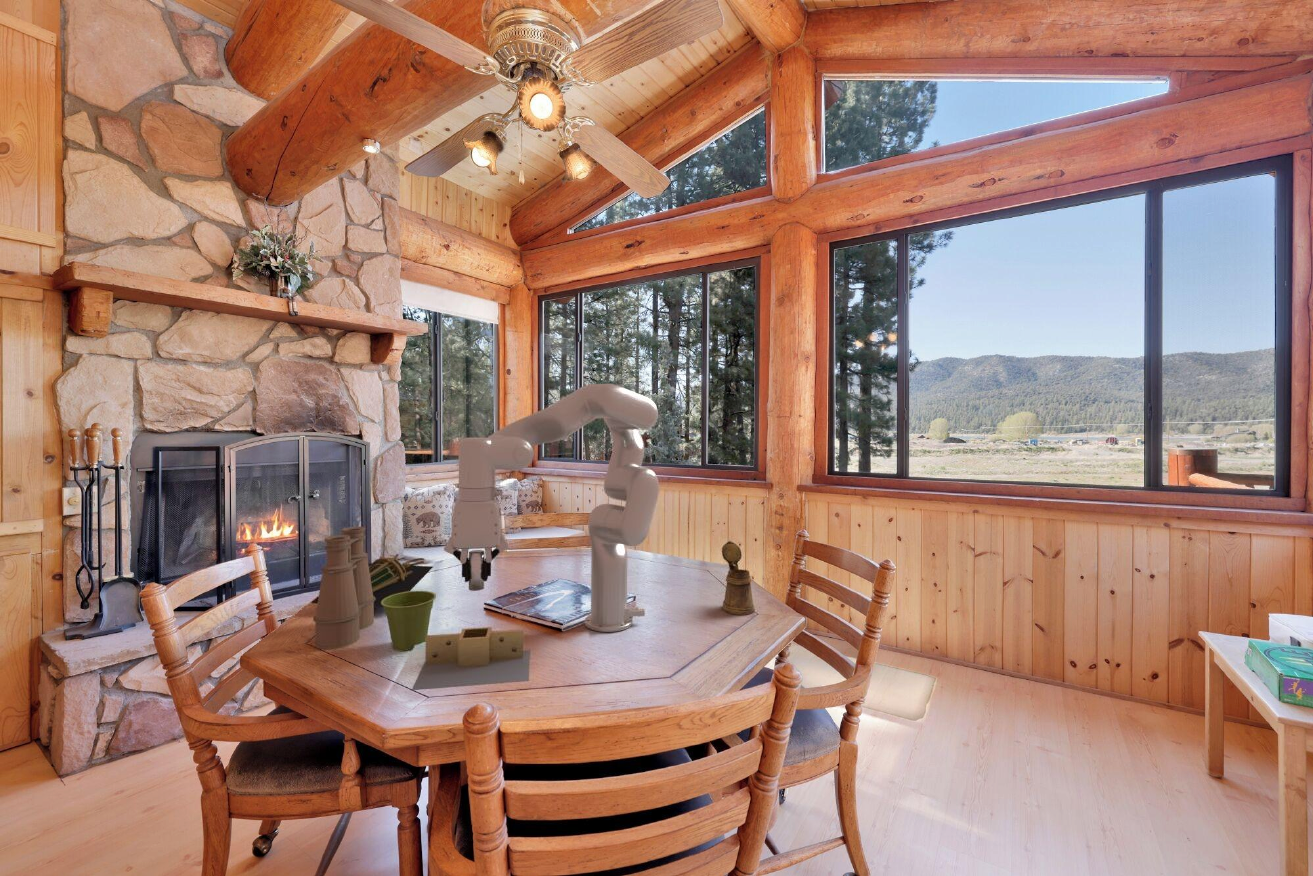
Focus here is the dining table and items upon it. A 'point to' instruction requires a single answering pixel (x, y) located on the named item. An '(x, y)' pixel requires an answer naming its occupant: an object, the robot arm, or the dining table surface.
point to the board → (473, 673)
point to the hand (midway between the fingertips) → (476, 579)
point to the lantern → (393, 577)
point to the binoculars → (344, 591)
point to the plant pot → (408, 617)
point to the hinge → (474, 647)
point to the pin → (476, 570)
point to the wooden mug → (737, 583)
